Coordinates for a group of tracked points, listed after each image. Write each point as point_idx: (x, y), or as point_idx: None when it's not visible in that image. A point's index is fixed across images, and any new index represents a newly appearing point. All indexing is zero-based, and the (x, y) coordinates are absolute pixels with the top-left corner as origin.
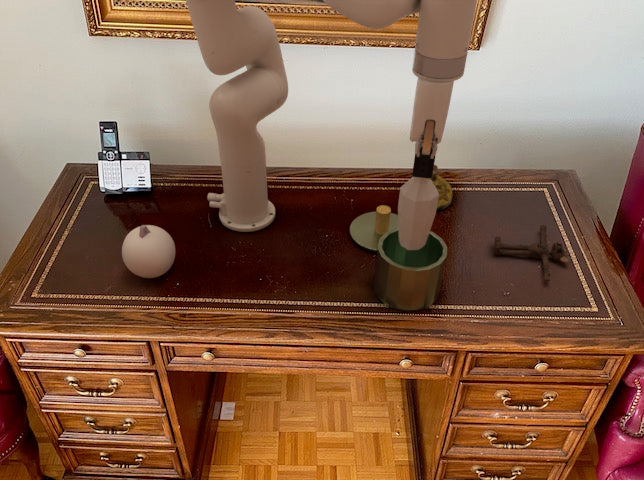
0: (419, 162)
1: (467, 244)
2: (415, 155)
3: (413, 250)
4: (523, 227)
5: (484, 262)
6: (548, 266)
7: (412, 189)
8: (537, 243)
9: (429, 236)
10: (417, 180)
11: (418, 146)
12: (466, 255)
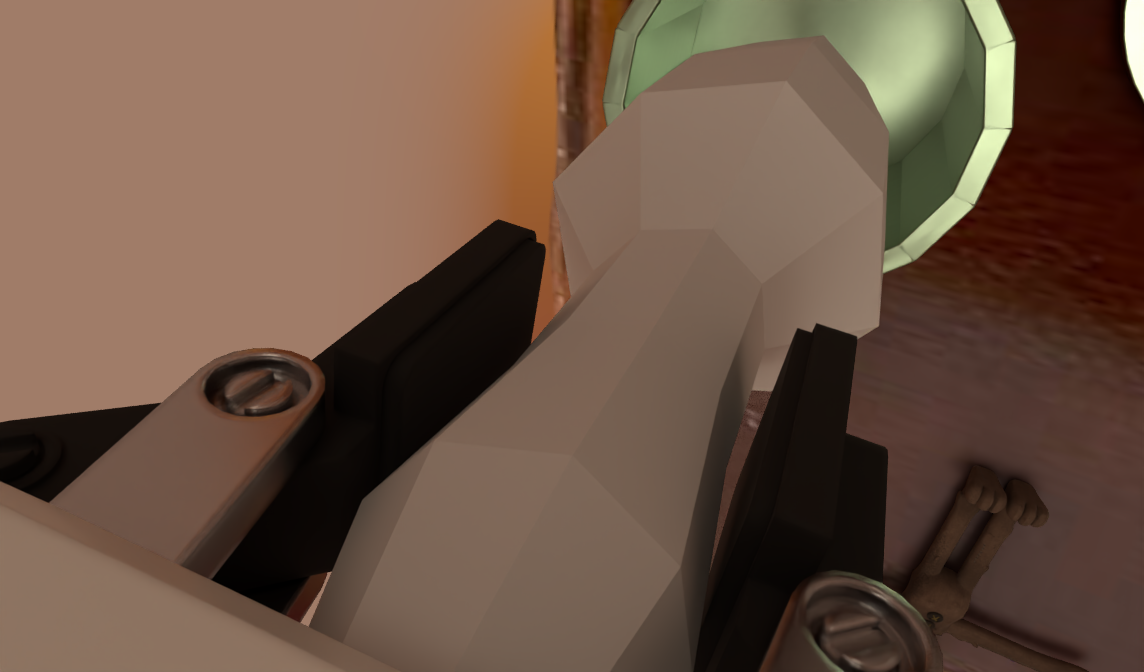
0: (325, 356)
1: (1085, 395)
2: (339, 353)
3: (954, 131)
4: (1137, 625)
5: (939, 414)
6: None
7: (612, 186)
8: (951, 619)
9: (904, 231)
10: (606, 260)
11: (93, 474)
12: (1004, 367)
